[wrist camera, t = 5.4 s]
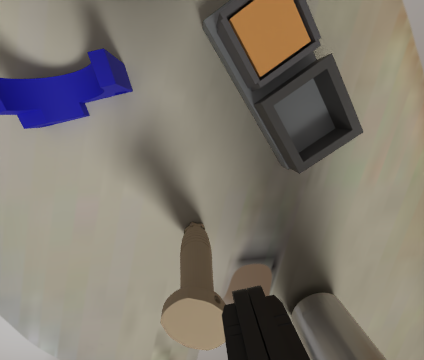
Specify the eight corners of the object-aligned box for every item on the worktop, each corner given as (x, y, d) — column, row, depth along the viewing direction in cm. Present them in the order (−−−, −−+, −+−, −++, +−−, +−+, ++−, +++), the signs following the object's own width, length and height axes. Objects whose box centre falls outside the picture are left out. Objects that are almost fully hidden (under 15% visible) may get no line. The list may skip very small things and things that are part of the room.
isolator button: (300, 47, 23) (310, 41, 21) (254, 80, 23) (260, 76, 21) (275, -10, 21) (283, -23, 19) (226, 27, 21) (229, 18, 20)
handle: (190, 206, 30) (189, 288, 16) (221, 232, 32) (244, 326, 18) (168, 228, 31) (148, 325, 17) (199, 252, 33) (205, 358, 18)
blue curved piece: (43, 127, 25) (-1, 130, 20) (24, 88, 24) (-29, 80, 18) (137, 104, 26) (121, 100, 20) (124, 64, 24) (103, 48, 18)
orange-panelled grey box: (336, 129, 29) (365, 132, 24) (281, 166, 30) (299, 175, 25) (268, -23, 23) (289, -60, 18) (202, 28, 24) (205, 6, 19)
